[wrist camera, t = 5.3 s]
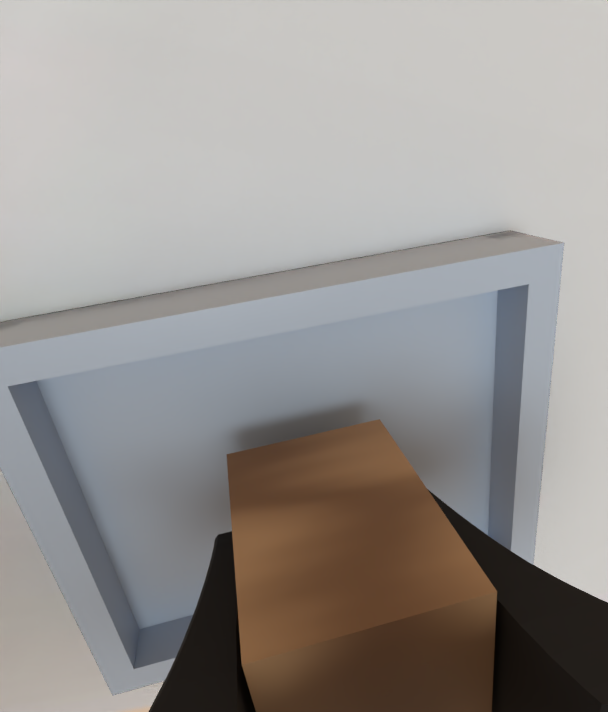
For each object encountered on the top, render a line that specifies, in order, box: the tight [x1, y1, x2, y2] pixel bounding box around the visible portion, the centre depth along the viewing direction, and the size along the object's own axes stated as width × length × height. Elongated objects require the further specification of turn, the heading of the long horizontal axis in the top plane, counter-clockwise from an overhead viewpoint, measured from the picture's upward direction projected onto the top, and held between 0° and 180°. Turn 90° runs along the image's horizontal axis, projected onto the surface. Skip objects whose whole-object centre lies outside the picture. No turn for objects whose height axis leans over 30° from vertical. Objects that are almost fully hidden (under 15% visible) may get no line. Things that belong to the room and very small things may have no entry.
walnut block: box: [226, 419, 497, 712], centre depth 11 cm, size 4×4×6 cm
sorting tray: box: [0, 231, 564, 695], centre depth 16 cm, size 16×13×2 cm
